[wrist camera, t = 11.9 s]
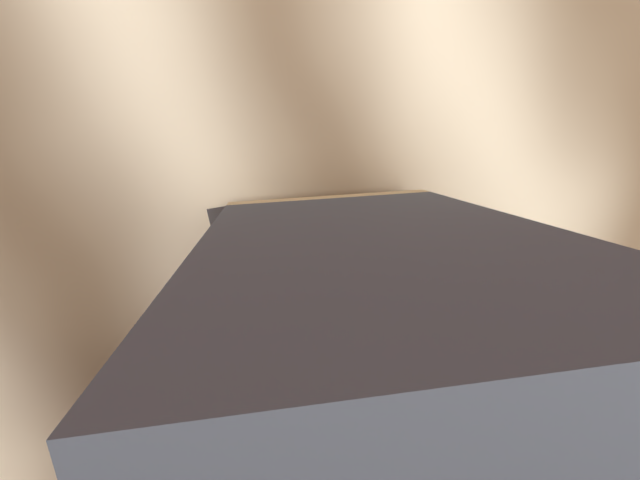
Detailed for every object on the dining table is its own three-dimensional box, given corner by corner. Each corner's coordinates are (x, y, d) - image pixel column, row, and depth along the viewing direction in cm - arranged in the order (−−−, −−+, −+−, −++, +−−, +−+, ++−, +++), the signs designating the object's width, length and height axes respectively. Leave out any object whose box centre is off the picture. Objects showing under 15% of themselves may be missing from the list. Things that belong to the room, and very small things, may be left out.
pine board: (92, 654, 13) (73, 706, 11) (-228, 22, 7) (-325, -2, 6) (612, 520, 14) (643, 555, 13) (673, -84, 9) (734, -120, 8)
